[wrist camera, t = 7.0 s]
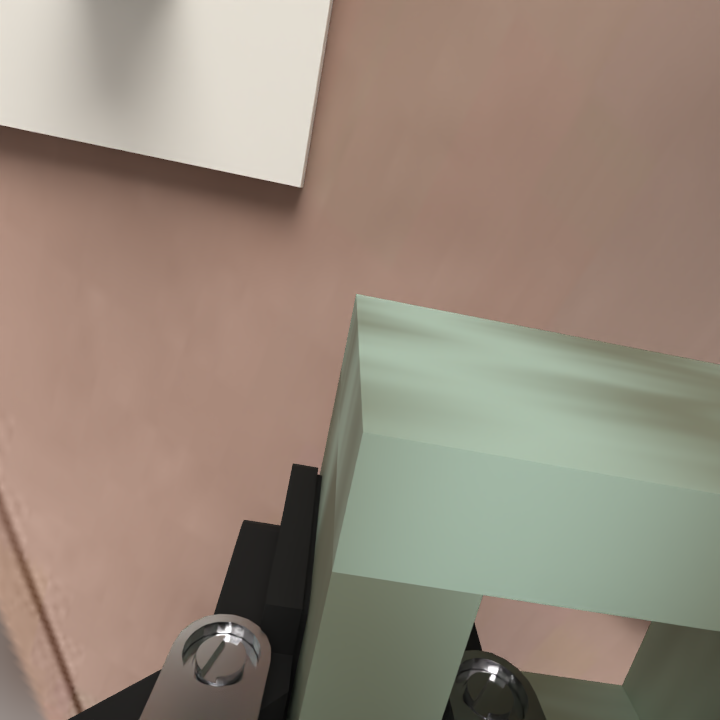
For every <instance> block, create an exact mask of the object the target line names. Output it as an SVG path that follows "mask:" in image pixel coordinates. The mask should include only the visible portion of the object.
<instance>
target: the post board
mask: <svg viewBox="0 0 720 720" xmlns="http://www.w3.org/2000/svg"><path fill="white" fill-rule="evenodd" d="M332 5H333V0H0V125H3V126H8V127H13V128H18V129H22V130H27V131H32V132H37V133H42V134H46V135H51V136H56V137H61V138H66V139H70V140H75V141H80V142H85V143H90V144H94V145H99V146H104V147H109V148H114V149H118V150H123V151H128V152H133V153H138V154H142V155H147V156H152V157H157V158H162V159H166V160H171V161H176V162H181V163H186V164H190V165H195V166H200V167H205V168H210V169H214V170H219V171H224V172H229V173H234V174H238V175H243V176H248V177H253V178H258V179H262V180H267V181H272V182H277V183H282V184H286V185H291V186H296V187H303V185H304V178H305V172H306V166H307V160H308V154H309V147H310V141H311V135H312V129H313V123H314V116H315V110H316V104H317V98H318V92H319V85H320V79H321V73H322V67H323V61H324V54H325V48H326V42H327V36H328V30H329V23H330V17H331V11H332Z"/></svg>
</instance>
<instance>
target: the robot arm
mask: <svg viewBox="0 0 720 720" xmlns="http://www.w3.org/2000/svg"><path fill="white" fill-rule="evenodd" d="M317 473H318V468H316V467H310V466H305V465H299V464H293V466H292V471H291V476H290V481H289V486H288V491H287V496H286V501H285V506H284V511H283V516H282V521H281V526H280V525H273V524H267V523H261V522H255V521H248V520H244V521H243V523H242V526H241V529H240V532H239V536H238V539H237V542H236V545H235V549H234V552H233V555H232V558H231V561H230V565H229V568H228V571H227V574H226V577H225V581H224V584H223V587H222V590H221V594H220V597H219V600H218V603H217V606H216V610H215V613H214V615H211V616H206V617H203V618H201V619H199V620H197V621H194V622H192V623H191V624H190V625H189V626H187V627H186V628H185V629H184V630H182V631H181V633H180V634H179V636H178V637H177V639H176V640H175V642H174V643H173V645H172V648H171V650H170V652H169V654H168V656H167V659H166V661H165V663H164V665H163V668H162V669H161V670H159V671H157V672H155V673H154V674H152V675H150V676H148V677H146V678H144V679H142V680H141V681H139V682H137V683H135V684H133V685H131V686H129V687H128V688H126V689H124V690H122V691H120V692H118V693H116V694H115V695H113V696H111V697H109V698H107V699H105V700H103V701H102V702H100V703H98V704H96V705H94V706H92V707H91V708H89V709H87V710H85V711H83V712H81V713H79V714H78V715H76V716H74V717H72V718H70V719H68V720H286V716H287V711H288V706H289V702H290V697H291V692H292V688H293V683H294V678H295V674H296V669H297V664H298V659H299V655H300V650H301V645H302V641H303V636H304V631H305V626H306V621H307V616H308V609H309V602H310V594H311V584H312V573H313V563H314V553H315V543H316V532H317V522H318V512H319V501H320V491H321V481H322V475H317ZM442 720H546V717H545V715H544V712H543V710H542V707H541V705H540V703H539V700H538V698H537V695H536V693H535V691H534V689H533V688H532V686H531V684H530V682H529V681H528V679H527V678H526V677H525V676H524V675H523V674H522V673H521V672H520V671H519V670H518V669H517V668H516V667H515V666H513V665H512V664H511V663H509V662H508V661H507V660H505V659H503V658H501V657H499V656H497V655H495V654H493V653H489V652H484V651H482V648H481V645H480V641H479V638H478V634H477V630H476V627H475V623H474V624H473V627H472V630H471V633H470V636H469V639H468V642H467V645H466V648H465V651H464V654H463V657H462V660H461V663H460V666H459V669H458V672H457V675H456V678H455V681H454V684H453V687H452V690H451V693H450V696H449V699H448V702H447V705H446V708H445V711H444V714H443V717H442Z"/></svg>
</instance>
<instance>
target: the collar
mask: <svg viewBox="0 0 720 720" xmlns="http://www.w3.org/2000/svg"><path fill="white" fill-rule="evenodd" d="M320 475H322V481H321V491H320V501H319V512H318V522H317V532H316V543H315V553H314V563H313V573H312V584H311V594H310V602H309V609H308V616H307V621H306V626H305V631H304V636H303V641H302V645H301V650H300V655H299V659H298V664H297V669H296V674H295V678H294V683H293V688H292V692H291V697H290V702H289V706H288V711H287V716H286V720H442V717H443V714H444V711H445V708H446V705H447V702H448V699H449V696H450V693H451V690H452V687H453V684H454V681H455V678H456V675H457V672H458V669H459V666H460V663H461V660H462V657H463V654H464V651H465V648H466V645H467V642H468V639H469V636H470V633H471V630H472V627H473V624H474V621H475V618H476V615H477V612H478V609H479V606H480V603H481V600H482V597H483V595H486V596H493V597H499V598H506V599H512V600H519V601H525V602H532V603H538V604H545V605H551V606H558V607H564V608H571V609H577V610H584V611H590V612H597V613H603V614H610V615H616V616H623V617H629V618H636V619H642V620H649V621H652V622H651V624H650V626H649V628H648V630H647V632H646V635H645V637H644V639H643V641H642V643H641V645H640V648H639V650H638V652H637V654H636V656H635V659H634V661H633V663H632V665H631V667H630V669H629V672H628V674H627V676H626V678H625V680H624V682H623V685H622V686H621V685H614V684H607V683H600V682H593V681H586V680H579V679H572V678H565V677H558V676H551V675H544V674H537V673H530V672H523V671H520V672H521V673H522V674H523V675H524V676H525V677H526V678H527V679H528V681H529V682H530V684H531V686H532V688H533V689H534V691H535V693H536V695H537V698H538V700H539V703H540V705H541V707H542V710H543V712H544V715H545V717H546V720H720V365H719V364H714V363H709V362H703V361H698V360H693V359H688V358H683V357H678V356H673V355H667V354H662V353H657V352H652V351H647V350H642V349H637V348H631V347H626V346H621V345H616V344H611V343H606V342H601V341H595V340H590V339H585V338H580V337H575V336H570V335H565V334H560V333H554V332H549V331H544V330H539V329H534V328H529V327H524V326H518V325H513V324H508V323H503V322H498V321H493V320H488V319H482V318H477V317H472V316H467V315H462V314H457V313H452V312H446V311H441V310H436V309H431V308H426V307H421V306H416V305H411V304H405V303H400V302H395V301H390V300H385V299H380V298H375V297H369V296H364V295H359V294H356V298H355V303H354V308H353V313H352V318H351V323H350V328H349V333H348V338H347V343H346V348H345V353H344V358H343V363H342V368H341V373H340V378H339V383H338V388H337V393H336V398H335V403H334V408H333V413H332V418H331V423H330V428H329V433H328V438H327V443H326V448H325V453H324V458H323V463H322V467H321V472H320Z"/></svg>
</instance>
